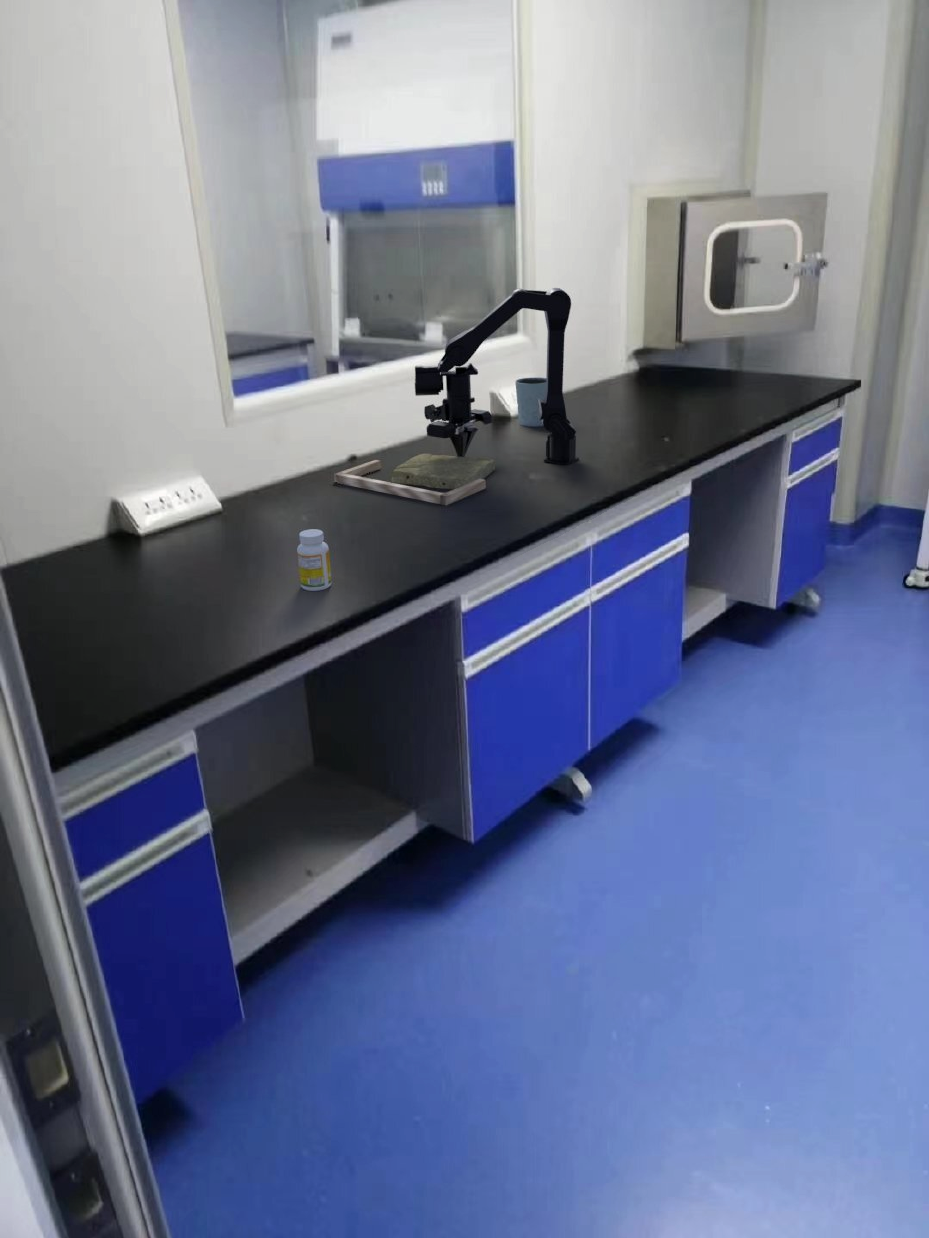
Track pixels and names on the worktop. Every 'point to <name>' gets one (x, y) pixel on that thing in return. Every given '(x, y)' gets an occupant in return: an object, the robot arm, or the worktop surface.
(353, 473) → the frame
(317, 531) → the supplement bottle
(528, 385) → the light blue cup
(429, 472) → the decorative tile
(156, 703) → the worktop surface
